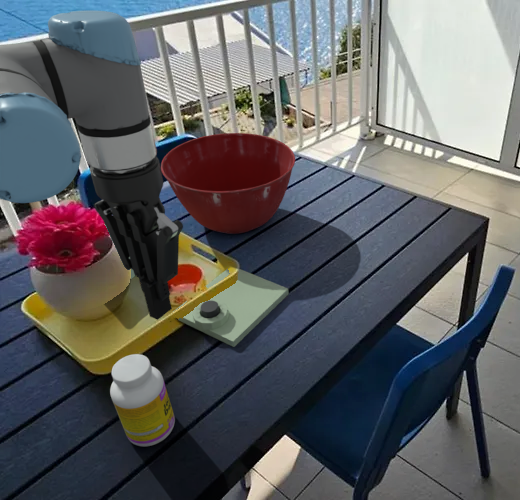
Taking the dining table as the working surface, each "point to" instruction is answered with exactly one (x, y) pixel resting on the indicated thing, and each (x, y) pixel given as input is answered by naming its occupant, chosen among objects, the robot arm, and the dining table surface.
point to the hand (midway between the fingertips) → (160, 312)
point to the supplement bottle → (141, 400)
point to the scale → (237, 307)
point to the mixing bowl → (230, 179)
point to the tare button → (209, 309)
